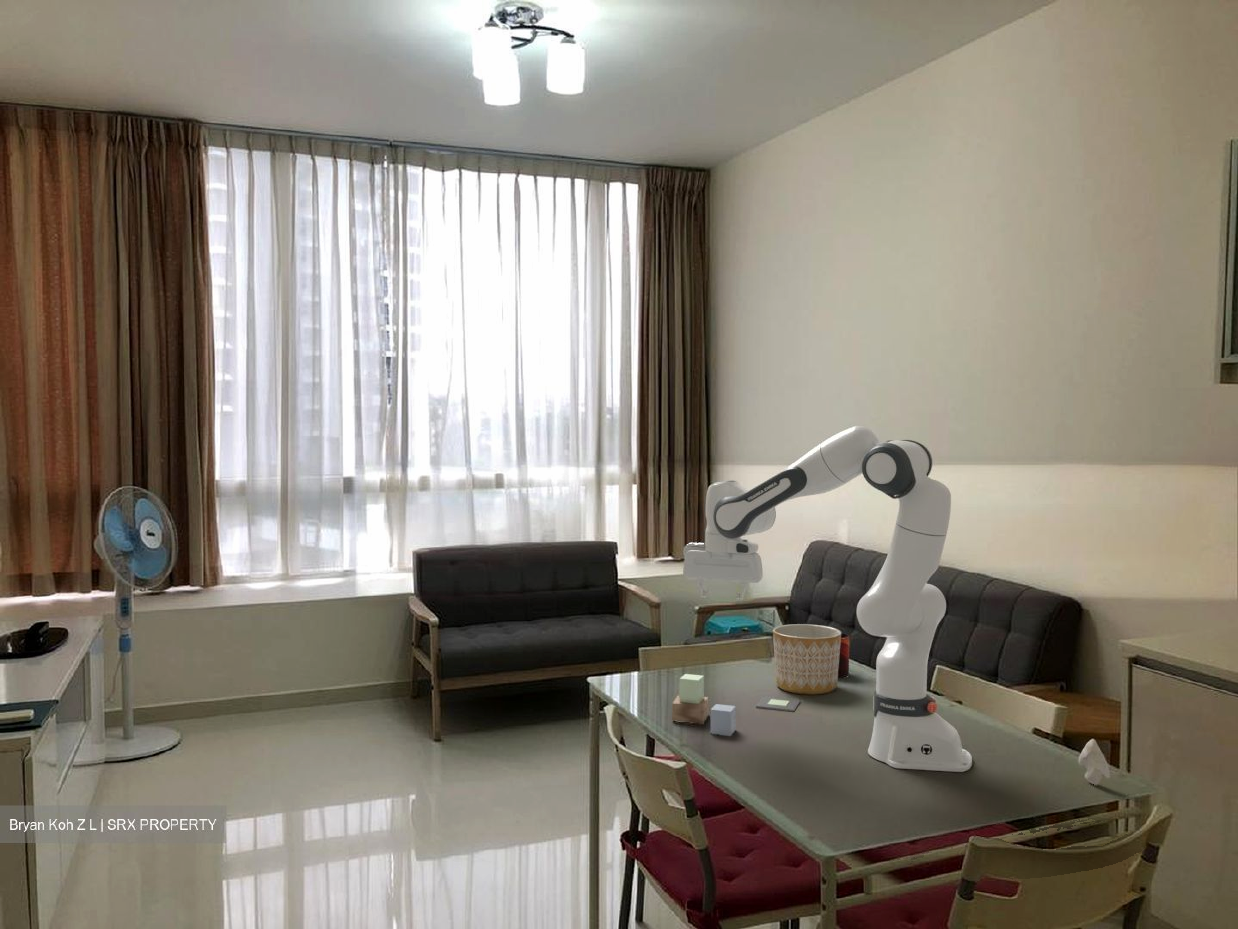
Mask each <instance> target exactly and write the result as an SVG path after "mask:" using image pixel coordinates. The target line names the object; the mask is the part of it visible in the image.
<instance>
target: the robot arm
mask: <svg viewBox="0 0 1238 929" xmlns="http://www.w3.org/2000/svg"><path fill="white" fill-rule="evenodd" d="M932 468H933V458H932V455H931V452H930V450H929V449H928V447H926V446H925V445H924V444H922V443H921V442H918V441H915V440H913V439H911V440H910V439H896V440H895V439H894V440H893V439H891V440H887V441H886V442H882V441H880V440H879V438H878V437H877V436H876V434H875V433H874V432H873V431H872V430H871V429H869V428H868V427H866V426H864V425H854V426H851V427H849V428H847V429H844V430H842V431H839V432H838V433H836V434H834V435H832V436H830V437H828V438H827V439H825V440H823V441H822V442H821V443H819V444H818V445H816V446H814V447H813V448H812V449H810V450H809V451H808V452H806V453H805V454H804V455H802V456H801V457H800V458H798V459H797V460H795V461H793V463H792V464H790V465H789V466H787V467H785V469H783V470H782V471H780V472H779V473H777V474H776V475H774V476H772V477H770V478H768V479H767V480H765V481H764V482H762V483H760V484H758V485H757V486H755V487H754V488H752V489H750V490H748V489H747V488H745V487H743V486H742V485H741V484H740V483H739V482H738V481H737V480H733V479H732V480H723V481H718V482H717V481H716V482H713V483H712V484H710V485H709V486H708V488H707V491H706V497H705V518H706V528H705V532H704V535H705V536H704V537H705V538H704V542H698V543H697V542H689V543H688V544H685V545H684V547H683V558H684V561H683V568H682V575H683V576H684V579H688V580H696V585H697V587H698V588H699V591H700V598H708V597H709V589H706V587H705V586H704V585H703V584H704V583H705V581H720V582H734V583H736V582H737V583H741V584H740V585H741V587H742V588H741V590H740V591H738V592H736V600H741V601H743V600H744V599H745V592H746V590H747V588H748V587H749V583H753V584H758V583H760V582H761V581H762V580H763V578H764V574H763V573H764V572H763V562H762V561H763V560H762V558H761V555H760V554H759V553H758V551H759V544H758V543H757V542H755V541H752V540H749V539H746V538H745V537H743V536H749V535H755V534H760V533H763V532H766V531H769V530H770V529H771V528H772V527H773V526H774V524H775V521H776V517H777V515H776V511H777V510H776V507H777V506H778V505H781V504H782V503H784V502H787V501H789V500H793V499H797V498H801V497H808V496H814V495H815V496H816V495H821V494H825V493H828V492H831V491H833V490H834V491H835V490H836V489H838V488H840V487H843V486H844V485H845V484H847V483H850V481H852V480H853V479H856V478H857V477H859V476H860V475H862V476H863V478H864V479H865V481H866V482H867V484H869V485H870V486H871V487H873V488H874V489H876V490H878V491H880V492H882V493H883V494H885V495H887V496H888V497H890V498H891V499H893V500H897V499H898V504H899V506H898V507H899V508H898V512H897V517H896V521H895V524H894V530H893V534H892V537H891V542H890V544H889V549H888V552H887V553H888V554H887V556H886V558H885V561H884V563H883V565H882V567H881V569H880V571H879V573H878V575H877V577H876V578H875V580H874V582H873V584H872V585H871V587H870V588H869V589H868V591H867V592H866V593H865V594H864V595H863V596H862V597H861V598H860V600H858V603H857V606H856V618H857V621H858V623H859V625H860V627H861V628H862V630H863V631H865V633H867V634H869V635H871V636H874V637H883V638H886V639H885V642H884V645H883V646H882V648H881V650H880V651H879V653H878V654H877V657H876V659H875V660H876V662H875V666H876V667H875V668H876V669H875V690H874V693H873V696H872V702H873V704H872V709H873V710H872V713H873V717H874V721H873V728H872V735H871V738H870V742H869V746H868V749H867V753H868V755H869V756H870V757H871V758H874V759H875V760H878V761H880V762H883V763H886V764H887V765H888V766H890V767H891V768H895V769H907V770H921V771H922V770H923V771H936V772H937V771H941V772H956V773H964V772H966V771H969V770H970V769H971V767H972V766H973V757H972V755H971V753H970V752H969V751H968V750H966V749H964V748H963V747H962V741H961V740H962V739H961V737H960V735H959V732H958V730H957V729H956V728H955V727H954V726H953V725H951V723H949V722H948V721H946V720H945V719H944V718H942V717H941V716H940V715H939V714H938V713H936V712H937V710H938V705H937V702H936V700H935V698H936V697H935V696H930V694H927V680H928V675H927V674H928V663H929V661H928V660H929V655H930V651H931V648H932V644H933V640H934V637H935V633H936V631H937V627H938V625H939V623H940V622H941V621H942V619H943V618H944V617H945V614H946V611H947V602H946V597H945V595H944V594H943V592H942V591H941V590H940V588H938V587H937V586H935V585H933V584H930V583H928V581H929V579H930V578H931V577H932V576H933V574H935V572H936V571H937V570H938V568H939V566H940V563H941V560H942V559H941V558H942V554H943V550H944V546H945V541H946V537H947V534H948V529H949V524H950V518H951V510H952V509H951V508H952V505H951V504H952V495H951V490H950V489H949V488H948V487H947V486H946V485H945V484H944V483H942V482H940V481H938V480H936V479H932V478H931V477H929V475H930V473H931V472H932Z"/></svg>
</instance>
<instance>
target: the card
mask: <svg viewBox="0 0 1238 929" xmlns="http://www.w3.org/2000/svg"><path fill="white" fill-rule="evenodd" d="M800 703H801V699H797V698H796V699H793V698H783V697H776V696H775V697H774V696H765V695H763V697H762V698H761V699H760V701H759V702H758V703H757V704H756V705H755V708H756V709H762V710H763V709H766V710H773V711H774V710H775V711H785V712H792V713H793V712H795V710H796V709H797V707H798V706H799V705H800Z"/></svg>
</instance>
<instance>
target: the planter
mask: <svg viewBox="0 0 1238 929" xmlns="http://www.w3.org/2000/svg"><path fill="white" fill-rule="evenodd" d="M841 633H842V631H841V630H839V629H838V628H836V627H832V626H827V625H820V624H819V625H818V624H810V623H809V624H808V623H807V624H806V623H803V624H802V623H801V624H800V623H797V624H784V625H783V624H782V625H778V626H776V627H774V628H773V629H772V636H773V638H772V639H773V640H772V642H773V653H774V670H775V671H774V672H775V682H776V685H777V686H778V687H779V688H780V689H781V690H783V691H785V692H788V693H792V694H797V695H810V696H812V695H813V696H815V695H824V694H829V693H832V692H833V691H834V690H835V689H836V688H837V686H838V680H839V679H838V667H839V655H840V644H841Z"/></svg>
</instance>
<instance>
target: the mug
mask: <svg viewBox="0 0 1238 929" xmlns="http://www.w3.org/2000/svg"><path fill="white" fill-rule="evenodd" d="M848 675H849V676H850V635H849V634H847V633H845V632H844V633H843V632H841V644H840V655H839V667H838V679H837V680H839V679H844V677H846V678H848V677H849V676H848ZM847 676H848V677H847Z"/></svg>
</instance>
